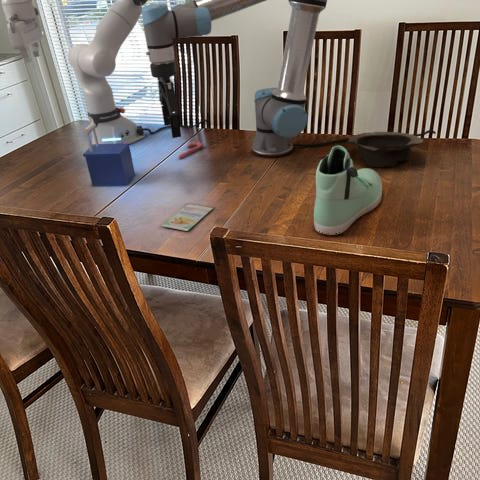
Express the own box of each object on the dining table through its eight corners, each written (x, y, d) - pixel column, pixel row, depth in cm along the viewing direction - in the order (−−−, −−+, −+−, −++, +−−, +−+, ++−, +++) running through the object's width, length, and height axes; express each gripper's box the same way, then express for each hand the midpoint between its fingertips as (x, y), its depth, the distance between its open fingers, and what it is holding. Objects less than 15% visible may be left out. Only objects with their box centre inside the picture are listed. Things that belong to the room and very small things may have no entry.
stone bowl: (380, 178, 154) (381, 150, 149) (333, 160, 174) (332, 135, 170) (437, 159, 162) (439, 132, 158) (385, 144, 183) (386, 120, 178)
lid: (83, 156, 160) (76, 130, 155) (94, 146, 168) (88, 121, 163) (120, 155, 158) (114, 129, 154) (129, 145, 166) (124, 120, 162)
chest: (92, 186, 166) (85, 156, 160) (102, 174, 174) (95, 146, 168) (126, 185, 164) (120, 156, 158) (135, 174, 172) (129, 145, 166)
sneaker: (389, 187, 148) (396, 123, 138) (356, 242, 123) (361, 168, 112) (346, 181, 154) (350, 119, 144) (306, 232, 129) (307, 161, 118)
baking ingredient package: (160, 225, 137) (188, 203, 148) (161, 226, 137) (188, 204, 148) (187, 230, 133) (213, 207, 145) (187, 231, 133) (213, 208, 145)
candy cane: (169, 157, 184) (168, 153, 183) (194, 144, 194) (193, 140, 193) (180, 159, 181) (180, 155, 180) (205, 146, 191) (205, 142, 190)
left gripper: (18, 16, 142) (33, 64, 149) (39, 8, 159) (51, 52, 166) (-3, 18, 142) (12, 66, 149) (20, 10, 159) (33, 54, 166)
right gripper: (143, 56, 152) (154, 122, 164) (157, 71, 132) (168, 145, 143) (166, 53, 154) (176, 118, 165) (183, 67, 134) (192, 140, 145)
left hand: (33, 59), depth 158 cm, fingers open, 8 cm apart
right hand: (172, 130), depth 154 cm, fingers open, 13 cm apart
